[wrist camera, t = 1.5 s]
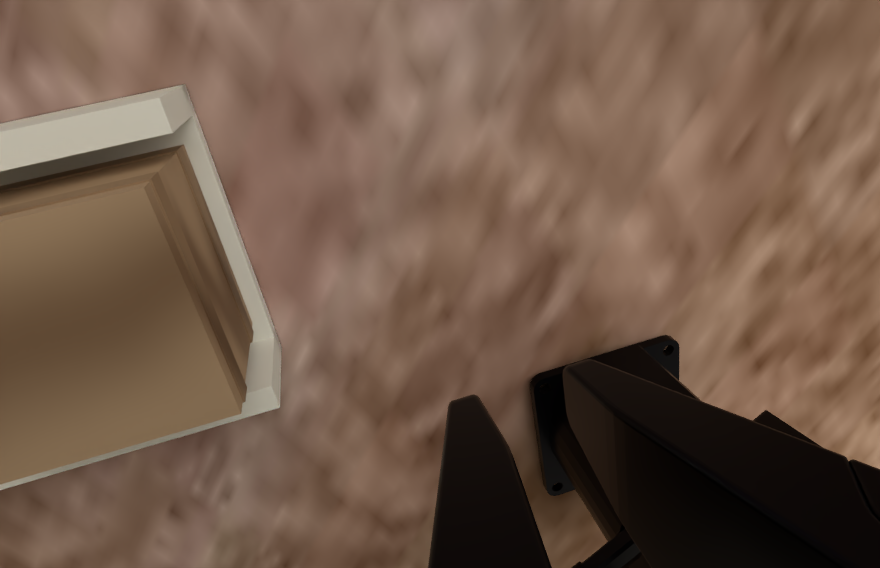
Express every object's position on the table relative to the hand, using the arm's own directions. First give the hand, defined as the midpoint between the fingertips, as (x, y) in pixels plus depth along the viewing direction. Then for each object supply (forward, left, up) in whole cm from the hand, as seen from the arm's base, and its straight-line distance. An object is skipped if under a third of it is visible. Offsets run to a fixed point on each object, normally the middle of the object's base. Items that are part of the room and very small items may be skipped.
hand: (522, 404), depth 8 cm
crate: (0, +8, -11) cm, 14 cm away
